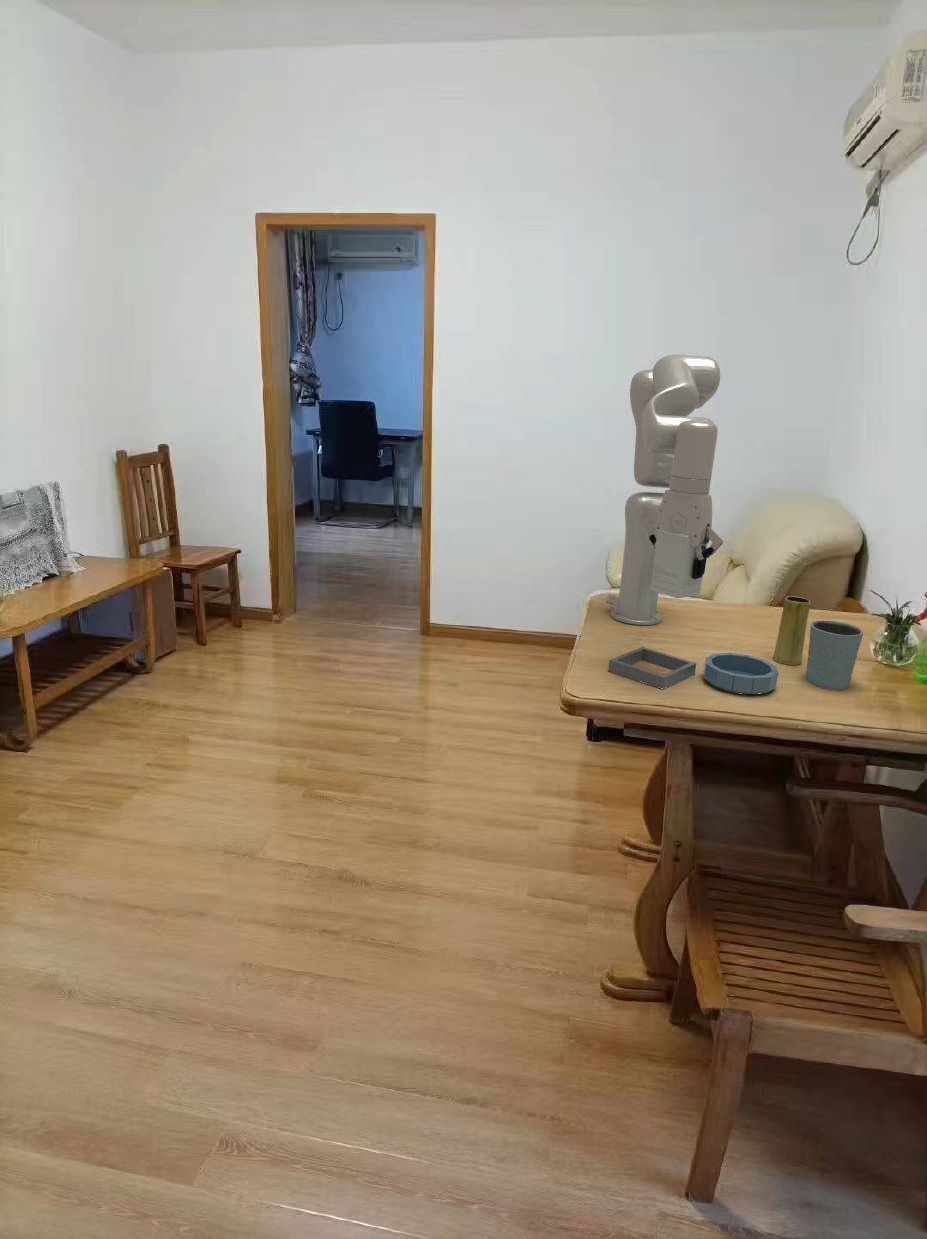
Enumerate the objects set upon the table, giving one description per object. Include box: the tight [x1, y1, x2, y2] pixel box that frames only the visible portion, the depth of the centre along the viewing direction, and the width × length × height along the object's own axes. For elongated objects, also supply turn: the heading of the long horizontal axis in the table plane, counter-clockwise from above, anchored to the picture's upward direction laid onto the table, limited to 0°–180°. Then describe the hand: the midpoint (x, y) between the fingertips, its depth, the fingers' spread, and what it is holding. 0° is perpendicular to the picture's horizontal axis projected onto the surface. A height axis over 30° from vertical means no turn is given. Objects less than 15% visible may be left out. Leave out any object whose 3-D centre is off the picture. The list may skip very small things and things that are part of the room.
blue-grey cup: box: [805, 620, 864, 691], centre depth 177 cm, size 10×10×12 cm
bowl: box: [703, 652, 779, 695], centre depth 175 cm, size 14×14×4 cm
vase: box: [772, 595, 812, 666], centre depth 188 cm, size 6×6×14 cm
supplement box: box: [650, 530, 708, 599], centre depth 171 cm, size 7×7×13 cm
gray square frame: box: [607, 646, 697, 690], centre depth 178 cm, size 13×13×2 cm
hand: (678, 572), depth 171 cm, fingers closed on supplement box, 8 cm apart
